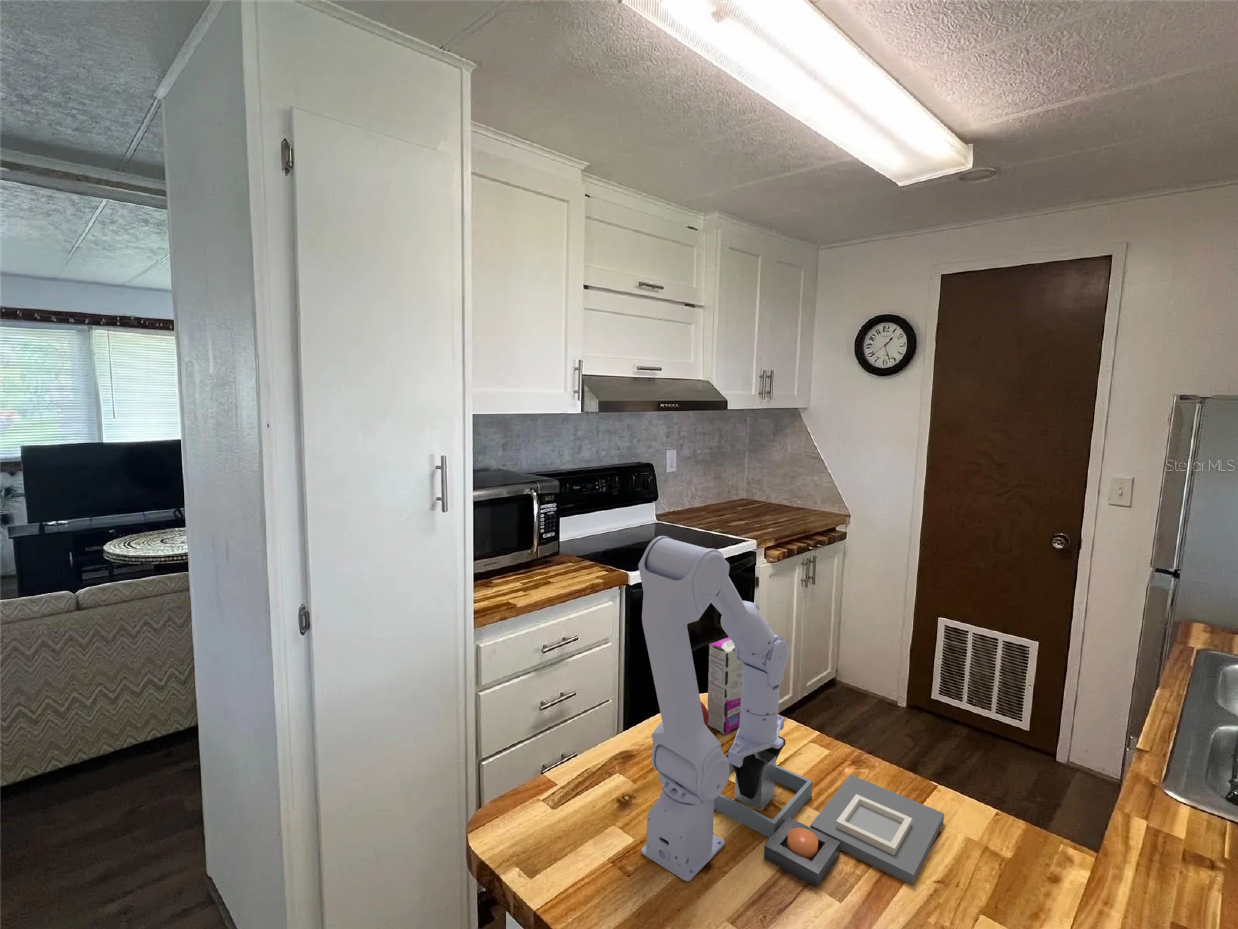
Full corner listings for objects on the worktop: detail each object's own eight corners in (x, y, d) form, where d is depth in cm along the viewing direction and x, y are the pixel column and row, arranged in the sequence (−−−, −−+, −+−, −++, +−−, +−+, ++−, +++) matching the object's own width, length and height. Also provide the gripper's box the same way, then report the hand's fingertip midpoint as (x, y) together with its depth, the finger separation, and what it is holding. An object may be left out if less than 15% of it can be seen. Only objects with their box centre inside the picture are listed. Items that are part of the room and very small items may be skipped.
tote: (773, 840, 89) (774, 824, 89) (695, 799, 98) (696, 784, 97) (811, 795, 99) (812, 781, 99) (738, 762, 108) (738, 748, 107)
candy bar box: (742, 707, 126) (746, 629, 124) (762, 717, 123) (766, 637, 121) (704, 725, 119) (708, 642, 117) (724, 736, 116) (728, 651, 114)
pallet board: (912, 885, 82) (914, 868, 81) (809, 834, 90) (810, 818, 90) (943, 822, 94) (944, 807, 93) (850, 783, 103) (851, 768, 102)
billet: (760, 811, 95) (762, 768, 94) (734, 798, 98) (736, 756, 97) (773, 797, 99) (776, 755, 98) (748, 784, 102) (750, 744, 101)
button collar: (817, 888, 81) (818, 874, 80) (763, 858, 86) (764, 845, 85) (839, 855, 87) (840, 842, 86) (788, 829, 91) (788, 817, 91)
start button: (809, 869, 83) (810, 853, 83) (781, 854, 86) (782, 838, 85) (821, 853, 86) (822, 837, 86) (794, 839, 89) (795, 823, 89)
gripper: (760, 735, 88) (755, 823, 90) (803, 698, 99) (798, 777, 101) (717, 717, 93) (713, 802, 95) (763, 683, 104) (759, 760, 106)
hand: (754, 788), depth 98 cm, fingers closed on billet, 4 cm apart
